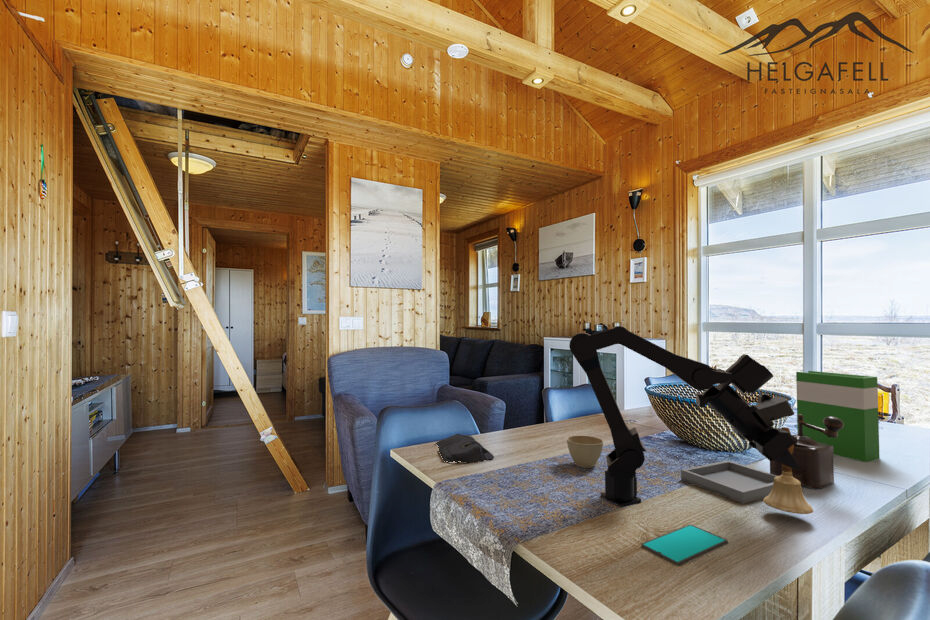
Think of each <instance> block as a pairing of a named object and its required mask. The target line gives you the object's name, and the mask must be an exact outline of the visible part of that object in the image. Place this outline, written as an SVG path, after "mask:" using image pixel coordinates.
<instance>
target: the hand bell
mask: <svg viewBox="0 0 930 620" xmlns="http://www.w3.org/2000/svg"><path fill="white" fill-rule="evenodd" d="M781 429H783V430H785V431H787V432H788V433H790V434H791V435H792V433H791V431H790V428H789V427H786V426H785V427H784V426H781ZM793 448H794V445H792V446H791V447H790V448H788V450H789V452H790V453H791V455H792V453H793ZM762 501H763V503H764V504H765V505H766V506H769V507H771V508H772V509H775V510H778V511H782V512H786V513H790V514H791V513H792V514H798V515H799V514H800V515H809V514H812V513H814V509H813V506H812V505H810V504H809V502H808V501H807V499H806V498H805V496H804V494H803V489H802V486H801V483H800V481H799V480H797V479H795V478H794V477H793V476H792V469H791V468H790V467H788V466H786V465H784V464H782V475H780V476H776V477H775V478H774V483H773V488H772V490H771V492H770V494H769V495H768V496H766V497H765V498H763V499H762Z"/></svg>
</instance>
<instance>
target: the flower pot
mask: <svg viewBox="0 0 930 620" xmlns="http://www.w3.org/2000/svg"><path fill="white" fill-rule="evenodd" d="M566 444H567V448H568V451H569V454H570V456H571V459H572V461H573V463H574V464H575V465H576V466H577V467H580V468H585V469H591V468H594V467H595V465H596V464H597V462H599V459H600V457H601V454H602V451H603V447H604V440H603V439H602V438H600V437H596V436H591V435H582V434H581V435H578V434H577V435H571V436H568V437H566Z"/></svg>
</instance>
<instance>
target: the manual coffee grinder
mask: <svg viewBox="0 0 930 620" xmlns="http://www.w3.org/2000/svg"><path fill="white" fill-rule="evenodd" d="M803 418H804V417H803V415H801V414H799V415H798V420H796V423H797V422H798V424H799V430H798V431H797V433H796V434H791V435H792V436H793V437H794V438H795V439H796V440H797V441H796V443H795V444H794V448H793V453H792V456H793V458H794V459H795V461H796V462H797V463H798V465H799V467H798V468H797V469H793V468H791V469H792V476H793V477H794V478H795V479H797V480H799V481H800V483H801V487H806V488H810V489H813V490H818V489H823V488H826V487H829V486H831V485H832V484H834V482H835V473H834V472H835V471H834V465H835V463H834V462H835V461H834V454H833V446H832V445H828V444H824V443H819V442H816V441H815V440H814V439H812V438H810V437H807V436H804V434H803V425H804V426H806V427H808V428H811V429H814V430H817V431H820V432H823V433H824V434H825V435H827V436H828V437H829V438H830V437H833V438H837V437H838V435H837V432H838V431H839V430H841V429H843V427H844V423H843V421H842V420H840V419H839V418H837V417H833V416H829V417H826V418H824V419H823V423H824V425H825V427H826V429H825V430H824V429H822V428H819V427H816V426H813V425H810V424H807V423H805V422H804V420H803ZM769 473H771V474H774V475H777V476H780V475H782V463H780V462H777V461H775V460H772V461H770V460H769Z"/></svg>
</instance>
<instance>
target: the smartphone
mask: <svg viewBox="0 0 930 620" xmlns="http://www.w3.org/2000/svg"><path fill="white" fill-rule="evenodd" d="M726 544H729V542H728V539H727V538H724V537H722V536H719V535H717V534H714V533H712V532H710V531H708V530H705V529H702V528H700V527H698V526H696V525H694V524H688V525H685V526H682V527H679V528H678V529H675V530H673V531H670V532H667V533H665V534H662V535H660V536H657V537H654V538H652V539H650V540H648V541H645V542H642V543H641V547H642V549H645V550H647V551H649V552H650V553H652V554H654V555H656V556H658V557H660V558H663V559H664V560H665V561H668V562H669V563H672V564H674V566H677V567H678V566H682V565H683V564H686V563H688V562H691V561H692V560H694V559H696V558H699V557H701V556H702V555H704V554H707V553H709V552H712V551H714V550H716V549H718V548H720V547H722V546H725V545H726Z"/></svg>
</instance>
